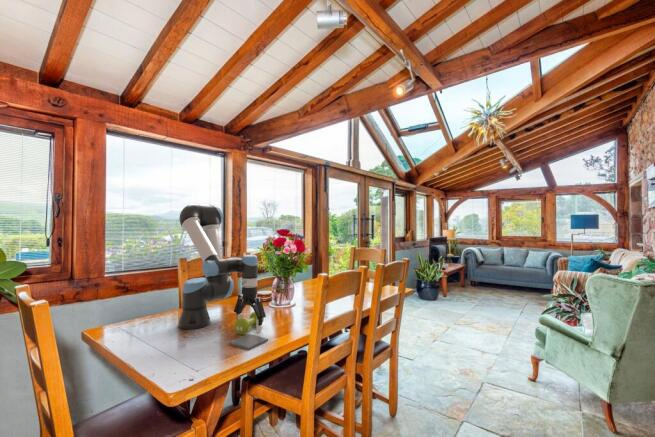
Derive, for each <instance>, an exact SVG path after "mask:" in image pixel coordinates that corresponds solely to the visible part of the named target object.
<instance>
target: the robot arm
mask: <svg viewBox="0 0 655 437" xmlns="http://www.w3.org/2000/svg"><path fill="white" fill-rule="evenodd" d="M178 217H179V219H178V220H179V224H180V227H181V228H182V230H184V231H186V233H187V235H188V236H189V238H190V240H191V242H192V244H193V245H194V247H195V249H196V251H197V253H198V255H199V256H200V258H201V260H202V265H201V270H202V274H203V275H204V276H205V277H203V276H202V277H194V278H190V279H188V280H187V279H186V280H185V282H183V284H182V291H181V292H182V308H181V309H182V310H181V313H180V317H179V319H178V328H180V329H183V330H184V329H185V330H196V329H201V328H204V327H206V326H208V325H210V324H211V318H210V315H209V311H208V309H207V308H208V304H207V303H208V302H212V301H213V302H214V301H217V300H222V299H223V300H224V299H226V298H229V297H230V296H231V295H232V293H233V291H234V280H233V279H232V277H231V276H229V274H235V273H240V274H241V285H242V287H241V294H237V300H236V304H235V306H234V309H233V312H234V313H236V321H237V320H238V319H243V318H244V317H243V311H244V309H245V308H246V306H249V307H251V308H252V310H253V312H255V314H256V316H257V319H256V326H255V328H256V329H255V330H256V333H261V332H262V325H263V323H262V318H264V319H265V318H266V317H267V315H266V312H265V308H264V306H263V302H262V300H263V299H262V297H261V296H260V297H258V296H257V294H258V271H259V268H258V266H259V260H258V256H257V255H255V254H244V255H242V257H237V256H231V257H228V258H223V255H222V248H221V240H220V233H219V229H220V227H221V224H222V223H223V221H224V220H223V219H224V213H223V211H222V209H221V207H219V206H218V205H215V204H197V203H191V204H188V205H186V206H184V207H183V208H182V210H181V211H180V213H179V216H178ZM259 315H260V316H259Z"/></svg>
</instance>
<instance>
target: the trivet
mask: <svg viewBox="0 0 655 437" xmlns="http://www.w3.org/2000/svg"><path fill="white" fill-rule="evenodd" d="M268 341H269V338H266V337H263V336H259V335H255V334H252V333H246V334H245V335H242V336H240V337H237V338H234V339H233V340H230V341H229V342H228V344H229V345H231V346H235V347H237V348H240V349H244V350H247V351H250V350H253V349H254V348H256V347H258V346H261V345H262V344H265V343H267V342H268Z"/></svg>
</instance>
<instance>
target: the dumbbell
mask: <svg viewBox="0 0 655 437" xmlns="http://www.w3.org/2000/svg"><path fill="white" fill-rule="evenodd" d="M259 316H260V315H259ZM256 319H257V316H256V314H255V312H254V311H252V312H251V313H250V315H249V317H248V319H246V318H242V319H238V320H237V319H236V321H235V323H234V324H233V328H234V332H235V333H236V334H237V335H240V336H241V335H242V336H244V335H247V334H248V332H249V330H250V327H251V326H252V327H256ZM264 320H265V317H264V318H262V324H263V323H264Z"/></svg>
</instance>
